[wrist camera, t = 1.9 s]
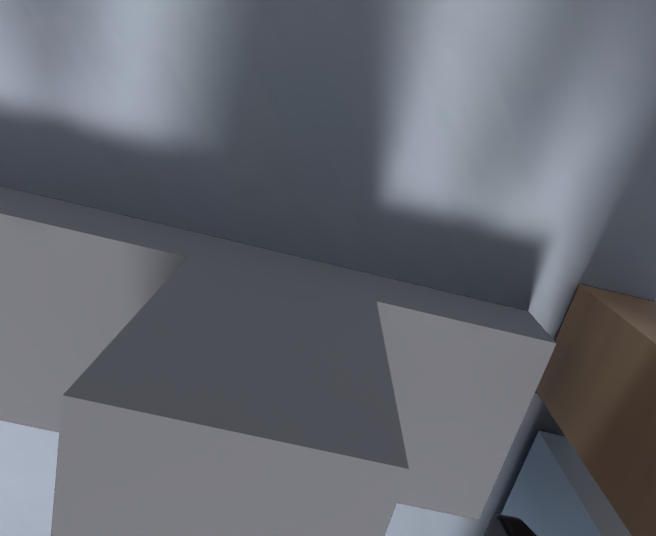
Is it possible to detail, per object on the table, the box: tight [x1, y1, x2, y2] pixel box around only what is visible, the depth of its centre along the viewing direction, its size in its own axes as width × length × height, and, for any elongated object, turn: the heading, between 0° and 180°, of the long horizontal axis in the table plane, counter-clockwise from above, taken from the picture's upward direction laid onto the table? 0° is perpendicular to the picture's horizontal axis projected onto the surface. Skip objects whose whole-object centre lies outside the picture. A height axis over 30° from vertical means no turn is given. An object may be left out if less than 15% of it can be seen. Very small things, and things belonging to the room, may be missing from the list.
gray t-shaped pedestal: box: [0, 186, 556, 536], centre depth 10 cm, size 16×5×7 cm, turn 76°
